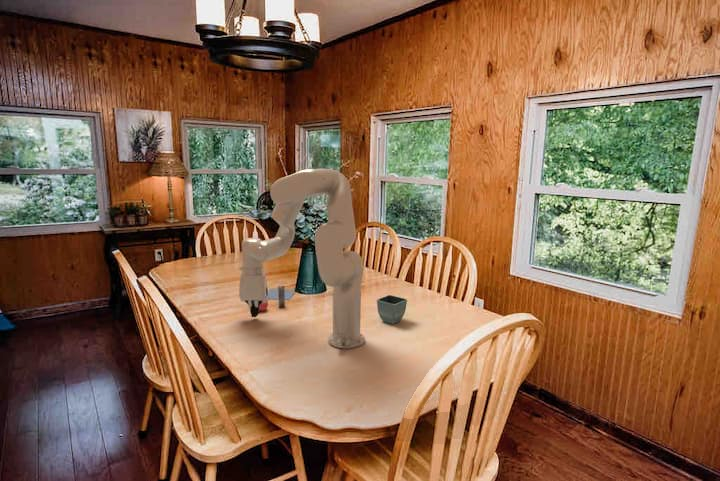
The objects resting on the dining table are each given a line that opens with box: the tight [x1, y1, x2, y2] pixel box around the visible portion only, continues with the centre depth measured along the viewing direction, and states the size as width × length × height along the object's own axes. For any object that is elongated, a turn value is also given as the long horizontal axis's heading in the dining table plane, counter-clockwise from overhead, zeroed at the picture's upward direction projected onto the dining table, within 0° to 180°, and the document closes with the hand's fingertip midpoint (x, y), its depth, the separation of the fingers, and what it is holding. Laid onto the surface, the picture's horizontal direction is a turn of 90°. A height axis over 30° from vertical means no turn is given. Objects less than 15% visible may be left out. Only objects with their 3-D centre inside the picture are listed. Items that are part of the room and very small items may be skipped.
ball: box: [254, 300, 269, 312], centre depth 170 cm, size 6×6×6 cm
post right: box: [277, 285, 286, 309], centre depth 174 cm, size 3×3×9 cm
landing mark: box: [267, 288, 296, 301], centre depth 191 cm, size 14×14×1 cm
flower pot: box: [376, 294, 408, 325], centre depth 160 cm, size 9×9×9 cm
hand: (254, 315), depth 160 cm, fingers closed
